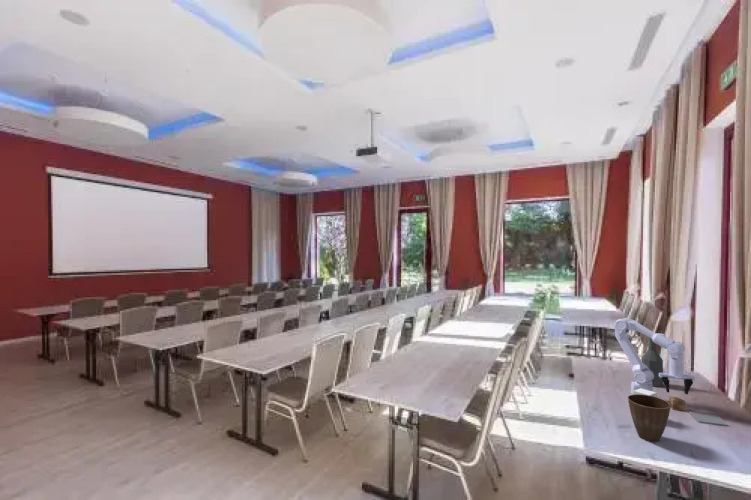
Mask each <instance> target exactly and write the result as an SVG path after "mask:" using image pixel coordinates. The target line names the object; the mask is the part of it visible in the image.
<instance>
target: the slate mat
mask: <svg viewBox="0 0 751 500" xmlns="http://www.w3.org/2000/svg"><path fill="white" fill-rule="evenodd" d="M688 413H689V415H691V417H692V418H693V419H694V420H695V421H696V422H697V423H700V424H708V425H716V426H722V427H723V426H725V427H729V424H728V423H727V422H726V421H724V420H723V419H722V418H721V417H720V416H719V415H717V414H710V413H704V412H703V413H702V412H694V411H689V412H688Z"/></svg>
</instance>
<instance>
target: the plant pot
mask: <svg viewBox="0 0 751 500" xmlns="http://www.w3.org/2000/svg"><path fill="white" fill-rule="evenodd" d="M627 400H628V401H627V402H628V407H629V411H630V415H631V419H632V422H633V424H634V425H633V426H634V428H635V430H636V434H637V435H638V437H640V439H643V440H644V441H648V442H652V443H658V442H659V441H660V440H661V438H662V437H663V435H664V433H665V430H666V428H667V424H668V420H669V416H670V412H671V407H670V406H671V405H670V404H669V401H667V400H665V399H662V398H659V397H653V396H648V395H640V394H634V395H631V394H630V395H628V396H627Z"/></svg>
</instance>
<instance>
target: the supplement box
mask: <svg viewBox="0 0 751 500" xmlns="http://www.w3.org/2000/svg"><path fill="white" fill-rule="evenodd" d="M634 394H640V395H648V396H653V397H657V396H658V395H657V394H658V392H655V391H649V390H645V389H642V388H640V389H637V390H634V391H633V395H634ZM657 398H658V397H657Z"/></svg>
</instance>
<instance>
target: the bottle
mask: <svg viewBox="0 0 751 500" xmlns="http://www.w3.org/2000/svg"><path fill="white" fill-rule="evenodd" d="M648 339H649V341H648V348H647V350H646V352H645V353H644V354H643V355H642V357H641V361H642V362H643V364H645V365H646V366H647V367H648V369H649V370H651V371H652V372H653V374H654V379H653V380H652V387H653V388H660V387H663V386H664V382H663V380H662V379H661V378H660V377H659V373H664V360H663V359H662V357H661V356H660V354H659V353H658V351H657V350H656V349H657V348H656V343H654V342H653V340H652V338H650V337H648Z"/></svg>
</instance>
